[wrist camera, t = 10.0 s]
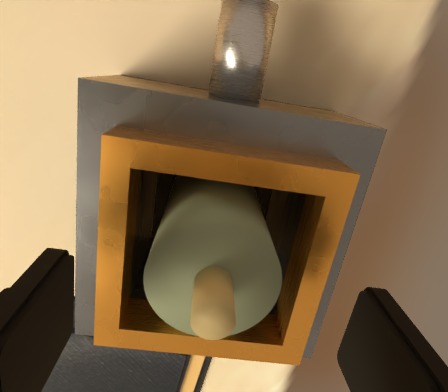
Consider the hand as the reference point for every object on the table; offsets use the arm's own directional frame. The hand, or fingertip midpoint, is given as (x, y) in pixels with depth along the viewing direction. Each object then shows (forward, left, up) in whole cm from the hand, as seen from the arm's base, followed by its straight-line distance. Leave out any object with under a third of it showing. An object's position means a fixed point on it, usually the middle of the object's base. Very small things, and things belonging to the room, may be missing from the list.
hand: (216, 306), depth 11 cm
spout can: (0, 0, -10) cm, 10 cm away
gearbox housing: (-2, 0, -10) cm, 10 cm away
